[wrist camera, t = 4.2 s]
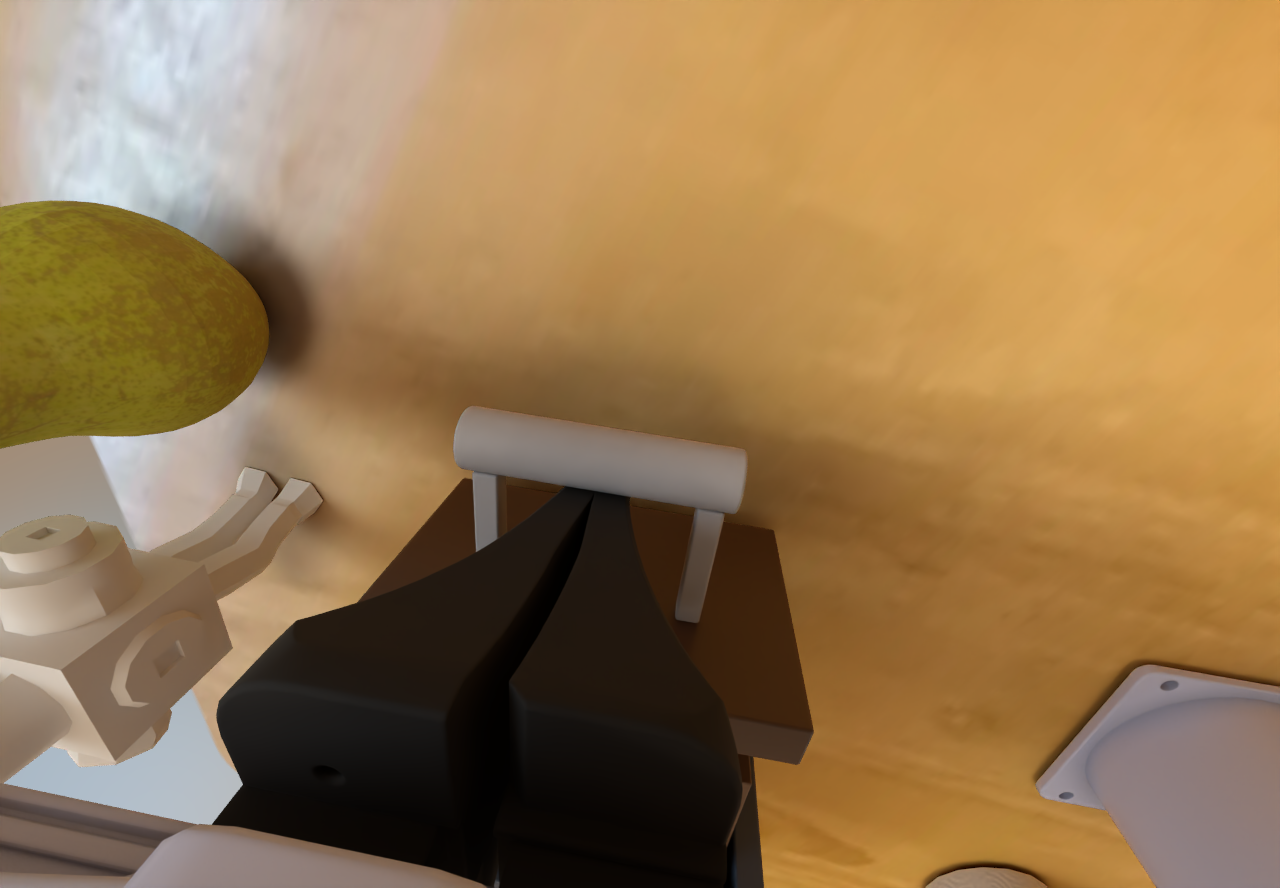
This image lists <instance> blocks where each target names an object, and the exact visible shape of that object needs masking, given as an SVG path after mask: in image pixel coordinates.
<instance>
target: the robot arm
mask: <svg viewBox="0 0 1280 888" xmlns="http://www.w3.org/2000/svg"><path fill="white" fill-rule="evenodd" d="M216 716H217V723H218V727H219V731H220V735H221V737H222V739H223V742H224V744H225V746H226V748H227V750H228V752H229V755H230V757H231V759H232V761H233V763H234V766H235V768H236V770H237V772H238V774H239V776H240V778H241V781H242V783H243V785H242V787H241V788H240V790H238V792H237V793H236V794H235V796H234V797H233V798H232V799H231V801H230V802H229V803H228V804H227V806H226V807H225V808H224V810H223V811H222V812H221V813H220V815H219V816H218V817H217V819H216V820H215V821H214V822H213V824H212V825H205V824H199V825H197V824H192V823H187V822H183V821H178V820H174V819H169V818H164V817H159V816H154V815H149V814H145V813H140V812H136V811H130V810H126V809H121V808H117V807H112V806H107V805H103V804H98V803H93V802H89V801H83V800H79V799H74V798H69V797H65V796H60V795H55V794H50V793H46V792H41V791H36V790H32V789H27V788H22V787H18V786H13V785H8V784H3V783H0V888H495V887H494V884H495V880H496V876H497V872H498V868H499V888H723V884H725V882H726V879H727V848H726V842H727V840H728V837H729V835H730V832H731V829H732V827H733V824H734V822H735V819H736V816H737V814H738V811H739V809H740V806H741V800H742V792H743V787H742V775H741V769H740V763H739V758H738V753H737V748H736V743H735V739H734V736H733V732H732V728H731V724H730V721H729V718H728V714H727V711H726V708H725V705H724V702H723V700H722V699H721V698H720V697H719V695H718V694H717V693H716V692H715V690H714V689H713V688H712V687H711V685H710V684H709V683H708V681H707V680H706V679H705V677H704V676H703V675H702V673H701V672H700V671H699V669H698V668H697V667H696V665H695V664H694V662H693V661H692V659H691V658H690V656H689V655H688V653H687V652H686V650H685V649H684V647H683V646H682V644H681V642H680V641H679V639H678V637H677V636H676V634H675V632H674V630H673V629H672V627H671V625H670V623H669V622H668V620H667V618H666V617H665V615H664V613H663V611H662V609H661V607H660V605H659V603H658V601H657V599H656V597H655V594H654V592H653V590H652V587H651V585H650V583H649V580H648V578H647V575H646V572H645V570H644V567H643V564H642V561H641V558H640V555H639V551H638V548H637V544H636V540H635V536H634V531H633V527H632V521H631V514H630V497H628V496H622V495H616V494H610V493H604V492H598V491H592V490H586V489H580V488H574V487H568V486H565V487H564V488H563V489H561V490H560V491H559V492H558V493H557V494H556V495H555V496H553V497H552V498H551V499H550V500H549V501H548V502H546V503H545V504H544V505H543V506H541V507H540V508H539V509H538V510H536V511H535V512H534V513H533V514H531V515H530V516H529V517H528V518H526V519H525V520H524V521H522V522H521V523H519V524H518V525H517V526H515V527H514V528H512V529H511V530H510V531H508V532H507V533H505V534H504V535H502V536H501V537H500V538H498V539H497V540H495V541H493V542H492V543H490V544H489V545H487V546H485V547H484V548H482V549H480V550H479V551H477V552H475V553H473V554H472V555H470V556H468V557H466V558H464V559H462V560H460V561H459V562H456V563H454V564H452V565H450V566H448V567H446V568H444V569H442V570H439V571H437V572H435V573H433V574H431V575H429V576H427V577H425V578H422V579H420V580H418V581H415V582H413V583H410V584H408V585H405V586H403V587H400V588H398V589H395V590H393V591H390V592H387V593H384V594H382V595H379V596H376V597H373V598H370V599H367V600H365V601H362V602H359V603H355V604H352V605H349V606H345V607H342V608H339V609H335V610H332V611H328V612H325V613H322V614H318V615H315V616H312V617H308V618H304V619H300V620H297V621H296V622H295V623H294V624H293V625H291V626H290V627H289V628H288V629H287V630H286V631H285V632H284V633H283V634H282V635H281V636H280V637H279V638H278V639H277V640H276V641H275V642H274V643H273V644H272V645H271V646H270V647H269V648H268V649H267V650H266V651H265V652H264V653H263V654H262V655H261V656H260V658H259V659H258V660H257V661H256V662H255V663H254V664H253V665H252V666H251V667H250V668H249V669H248V670H247V671H246V672H245V673H244V674H243V675H242V677H241V678H240V679H239V680H238V681H237V682H236V683H235V684H234V685H233V686H232V687H231V688H230V689H229V690H228V691H227V693H226V694H225V695H224V696H223V697H222V698H221V699H220V700H219V704H218V709H217V714H216ZM1035 786H1036V789H1037V790H1038V792H1039V794H1040V795H1041V796H1042V797H1043V798H1046V799H1049V800H1054V801H1060V802H1065V803H1070V804H1075V805H1080V806H1086V807H1091V808H1096V809H1101V810H1106V811H1107V812H1108V814H1109V815H1110V817H1111V818H1112V820H1113V821H1114V823H1115V825H1116V826H1117V828H1118V829H1119V831H1120V832H1121V834H1122V835H1123V837H1124V838H1125V840H1126V842H1127V843H1128V845H1129V846H1130V848H1131V849H1132V851H1133V852H1134V854H1135V855H1136V857H1137V859H1138V860H1139V862H1140V863H1141V865H1142V866H1143V868H1144V869H1145V871H1146V872H1147V874H1148V875H1149V877H1150V879H1151V880H1152V882H1153V883H1154V885H1155V886H1156V888H1280V687H1277V686H1272V685H1266V684H1260V683H1255V682H1249V681H1243V680H1237V679H1232V678H1226V677H1220V676H1215V675H1209V674H1203V673H1198V672H1192V671H1186V670H1180V669H1175V668H1169V667H1163V666H1158V665H1143V666H1140V667H1137V668H1136V669H1134V670H1133V671H1132V672H1131V673H1130V674H1129V676H1128V677H1127V678H1126V679H1125V680H1124V681H1123V683H1122V684H1121V685H1120V686H1119V687H1118V688H1117V689H1116V691H1115V692H1114V693H1113V694H1112V695H1111V696H1110V698H1109V699H1108V700H1107V701H1106V702H1105V703H1104V704H1103V706H1102V707H1101V708H1100V709H1099V710H1098V711H1097V713H1096V714H1095V715H1094V716H1093V717H1092V718H1091V719H1090V721H1089V722H1088V723H1087V724H1086V725H1085V726H1084V728H1083V729H1082V730H1081V731H1080V732H1079V733H1078V734H1077V736H1076V737H1075V738H1074V739H1073V740H1072V741H1071V743H1070V744H1069V745H1068V746H1067V747H1066V748H1065V749H1064V751H1063V752H1062V753H1061V754H1060V755H1059V756H1058V758H1057V759H1056V760H1055V761H1054V762H1053V763H1052V764H1051V766H1050V767H1049V768H1048V769H1047V770H1046V771H1045V773H1044V774H1043V775H1042V776H1041V777H1040V778H1039V779H1038V781H1037V782H1036V784H1035Z"/></svg>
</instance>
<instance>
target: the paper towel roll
mask: <svg viewBox="0 0 1280 888" xmlns="http://www.w3.org/2000/svg"><path fill="white" fill-rule="evenodd" d="M925 888H1048V887H1047V886H1046V885H1045V884H1043V883H1042V882H1040V881H1039V880H1037V879H1036V878H1034V877H1033V876H1031V875H1028V874H1024V873H1021V872H1017V871H1014V870H1010V869H1001V868H987V867H980V868H971V869H963V870H956V871H954V872H951V873H948V874H945V875H942V876H939V877H937V878H936V879H935V880H933V881H932V882H931V883H930V884H929V885H927V886H926V887H925Z"/></svg>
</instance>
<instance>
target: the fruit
mask: <svg viewBox="0 0 1280 888" xmlns="http://www.w3.org/2000/svg"><path fill="white" fill-rule="evenodd" d="M268 345H269V325H268V318H267V314H266V311H265V308H264V305H263V303H262V301H261V300H260V298H259V296H258V294H257V293H256V291H255V290H254V289H253V287H252V286H251V285H250V283H249V282H248V281H247V280H246V279H245V278H244V277H243V276H242V275H241V274H240V273H239V272H238V271H237V270H236V269H235V268H234V267H233V266H232V265H231V264H229V263H228V262H227V261H226V260H224V259H223V258H222V257H221V256H219V255H218V254H216V253H215V252H214V251H212V250H211V249H210V248H208V247H207V246H205V245H204V244H202V243H200V242H199V241H197V240H196V239H194V238H193V237H191V236H189V235H187V234H186V233H184V232H182V231H180V230H178V229H177V228H174V227H172V226H170V225H168V224H166V223H163V222H161V221H159V220H156V219H153V218H150V217H147V216H144V215H141V214H138V213H135V212H131V211H128V210H125V209H122V208H118V207H114V206H109V205H103V204H98V203H89V202H77V201H40V202H26V203H20V204H15V205H9V206H4V207H0V449H1V448H5V447H10V446H15V445H19V444H24V443H29V442H34V441H40V440H45V439H50V438H57V437H65V436H141V435H149V434H158V433H164V432H169V431H174V430H177V429H180V428H183V427H187V426H190V425H193V424H195V423H197V422H199V421H201V420H203V419H205V418H207V417H209V416H211V415H213V414H215V413H217V412H219V411H220V410H222V409H223V408H225V407H226V406H227V405H228V404H230V403H231V402H232V401H233V400H235V399H236V398H237V397H238V396H239V395H240V394H241V393H243V391H244V390H245V389H246V388H247V387H248V386H249V385H250V384H251V383H252V381H253V380H254V378H255V376H256V375H257V373H258V371H259V369H260V368H261V366H262V364H263V362H264V359H265V356H266V352H267V349H268Z"/></svg>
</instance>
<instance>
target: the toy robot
mask: <svg viewBox="0 0 1280 888" xmlns="http://www.w3.org/2000/svg"><path fill="white" fill-rule="evenodd" d="M277 491H278V488H277V487H276V485H275V484H274V483H273V481H272V480H271V478H270V477H269V476H268V474H267V473H266V472H264V471H260V470H256V469H252V468H248V467H245V468H244V470H243V471H242V473H241V475H240V477H239V479H238V483H237V489H236V494H233V495H232V496H231V497H230V498H229V499H228V500H227V501H226V502H225V503H224V504H223V505H222V506H221V507H220V508H219V509H218V510H217V511H216V512H215V513H214V514H213V515H212V516H211V517H210V518H208V519H207V520H206V521H204V522H203V523H202V524H201V525H199V526H198V527H197V528H195V529H194V530H193V531H191V532H189V533H187V534H185V535H183V536H181V537H178V538H176V539H174V540H172V541H170V542H168V543H166V544H164V545H161V546H159V547H157V548H155V549H153V550H151V551H149V552H145V551H140V550H135V549H130V548H128V547H127V545H126V543H125V540H124V538H123V536H122V535H121V533H120V531H119V530H118V528H117V527H116V526H113V525H108V524H103V523H99V522H86V520H85V518H84V517H79V516H73V515H59V516H48V517H45V518H41V519H37V520H34V521H30V522H26V523H24V524H22V525H20V526H17V527H16V528H13V529H11V530H9V531H7V532H5V533H4V534H3V535H2V536H1V537H0V783H4V782H5V781H7V780H8V779H9V778H11V777H12V776H13V775H15V774H16V773H17V772H18V771H20V770H21V769H22V768H24V767H25V766H26V765H28V764H29V763H30V762H32V761H33V760H34V759H35V758H37V757H38V756H39V755H41V754H42V753H43V752H45V751H46V750H47V749H48V748H50V747H55V748H59V749H64V750H67V753H68V755H69V756H70V757H71V758H72V759H73V760H74V762H75V763H76V764H77V765H78V766H79V767H88V766H103V765H116V764H118V763H121V762H123V761H125V760H127V759H130V758H132V757H134V756H136V755H139V754H141V753H143V752H145V751H148V750H150V749H152V748H153V747H154V746H155V745H156V744H157V742H158V741H159V740H160V739H161V737H162V736H163V735H164V733H165V732H166V731H167V730H168V726H169V722H170V718H171V714H172V712H171V710H170V708H171V707H172V706H173V705H174V704H175V703H176V702H177V701H178V700H179V699H180V698H181V697H182V696H184V695H185V693H187V692H188V691H189V690H190V689H191V688H192V687H193V686H194V685H195V684H196V683H197V682H198V681H199V680H200V679H201V678H202V677H203V676H204V675H205V674H206V673H207V672H209V671H210V670H211V669H212V668H213V667H214V666H215V665H216V664H217V663H218V662H219V661H220V660H221V659H222V658H223V657H224V656H225V655H226V654H227V653H228V652H229V651H230V650H231V649H233V647H232V644H231V641H230V638H229V635H228V632H227V630H226V627H225V624H224V621H223V618H222V615H221V612H220V609H219V606H218V603H217V600H219V599H221V598H223V597H225V596H227V595H229V594H230V593H232V592H233V591H235V590H236V589H238V588H239V587H241V586H242V585H244V584H245V583H247V582H248V581H250V580H251V579H253V578H254V577H256V576H257V575H259V574H260V573H262V572H263V571H264V570H265V568H266V567H267V566H268V565H269V564H270V563H271V561H272V559H273V557H274V555H275V553H276V551H277V549H278V547H279V545H280V544H281V543H282V541H283V540H284V539H285V538H286V537H287V535H288V534H289V533H290V532H291V531H292V529H293V528H294V526H295V525H298V524H300V523H301V522H303V521H304V520H305V519H307V518H308V517H309V516H311V515H312V514H314V513H315V512H316V510H317V509H318V507H319V506H320V505H321V503H322V502H323V500H322V498H321V497H320V495H319V494H318V492H317V491H316V489H315V488H314V486H313V485H312V484H311V483H309V482H305V481H301V480H297V479H293V478H290V479H289V481H288V482H287V484H286V485H285V487H284V488H283V490H282V491H281V493H280V494H279V496H278V497H277V498H276V499H275V500H274V501H272V499H273V498H274V496H275V495H276V493H277ZM271 501H272V502H271ZM270 502H271V503H270Z"/></svg>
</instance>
